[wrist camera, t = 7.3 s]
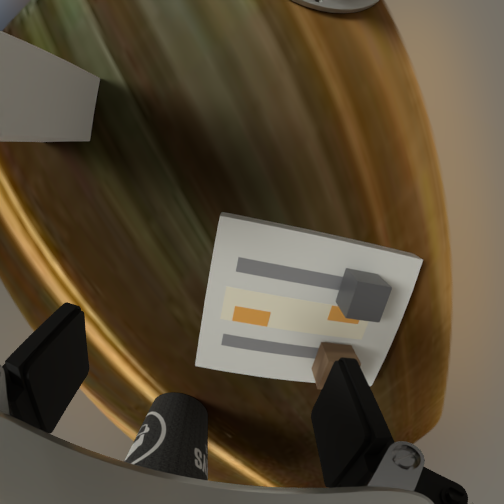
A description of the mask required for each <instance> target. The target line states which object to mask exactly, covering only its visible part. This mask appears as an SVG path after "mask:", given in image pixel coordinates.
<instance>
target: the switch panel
mask: <svg viewBox="0 0 504 504" xmlns="http://www.w3.org/2000/svg"><path fill="white" fill-rule="evenodd" d="M422 262H423V259H421V258H419V257H418V256H416V255H414V254H412V253H408V252H404V251H400V250H396V249H392V248H388V247H384V246H379V245H375V244H371V243H367V242H362V241H358V240H354V239H349V238H345V237H340V236H336V235H331V234H327V233H322V232H318V231H313V230H309V229H304V228H299V227H295V226H290V225H285V224H280V223H275V222H271V221H266V220H261V219H256V218H251V217H246V216H241V215H236V214H231V213H225V212H222V213H221V215H220V218H219V223H218V229H217V234H216V240H215V245H214V251H213V256H212V262H211V268H210V274H209V280H208V286H207V292H206V298H205V304H204V310H203V317H202V323H201V329H200V336H199V343H198V350H197V356H196V363H195V366H199V367H204V368H210V369H215V370H221V371H227V372H233V373H239V374H245V375H252V376H259V377H266V378H274V379H283V380H291V381H301V382H312V383H316V382H315V379H314V376H313V372H312V369H311V368H312V365H313V363H314V360H315V357H316V355H317V352H318V349H319V346H320V344H321V342H327V343H335V344H344V345H352V347H353V349H354V351H355V353H356V355H357V357H358V358H359V360H360V362H361V366H360V368H361V370H362V372H363V374H364V376H365V378H366V380H367V382H368V385H369V386H372V384H373V382H374V380H375V378H376V376H377V374H378V372H379V370H380V368H381V366H382V363H383V361H384V359H385V357H386V355H387V353H388V350H389V348H390V346H391V344H392V341H393V339H394V337H395V334H396V332H397V330H398V327H399V325H400V322H401V320H402V318H403V315H404V312H405V310H406V307H407V305H408V302H409V299H410V297H411V294H412V291H413V288H414V286H415V283H416V280H417V277H418V274H419V271H420V268H421V265H422ZM346 268H349V269H354V270H359V271H364V272H369V273H374V274H378V275H379V276H380V277H381V278H382V279H384V280H385V281H386V282H387V283H388V284H389V285H390V286H391V287H392V290H391V293H390V295H389V298H388V301H387V304H386V306H385V309H384V312H383V314H382V317H381V320H380V322H371V321H363V320H356V319H348V318H345V316H344V315H343V313H342V311H341V310H340V308H339V306H338V305H337V303H336V302H335V301H336V298H337V295H338V292H339V289H340V286H341V282H342V279H343V276H344V273H345V269H346Z"/></svg>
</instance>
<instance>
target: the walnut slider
mask: <svg viewBox="0 0 504 504" xmlns="http://www.w3.org/2000/svg"><path fill="white" fill-rule="evenodd" d="M341 357H344V358H355V359H356V360H357V361H358V363H359V365H360V366H361V362H360V360H359V358H358V357H357V355H356V353H355V351H354V349H353V347H352V345H344V344H335V343H327V342H321V344H320V346H319V349H318V352H317V355H316V357H315V360H314V363H313V365H312V368H311V369H312V372H313V376H314V379H315V382H316V386H317V389H322V388H323V386H324V384H325V382H326V379H327V377H328V375H329V373H330V370H331V368H332V366H333V363H334V362H335V361H338V360H339V359H340V358H341Z"/></svg>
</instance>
